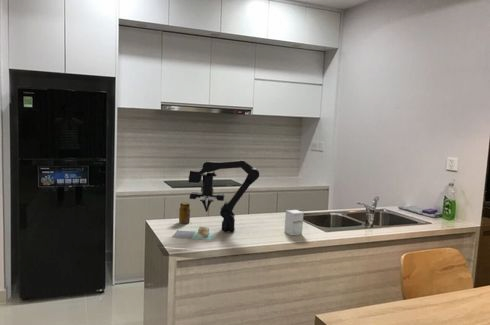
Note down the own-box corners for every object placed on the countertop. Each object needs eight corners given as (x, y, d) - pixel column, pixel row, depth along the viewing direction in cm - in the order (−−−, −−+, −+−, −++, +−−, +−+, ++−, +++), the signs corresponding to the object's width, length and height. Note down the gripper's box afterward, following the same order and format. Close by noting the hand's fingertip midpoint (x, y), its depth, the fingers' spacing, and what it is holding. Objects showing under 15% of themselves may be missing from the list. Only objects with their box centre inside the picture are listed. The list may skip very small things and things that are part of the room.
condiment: (186, 221, 230) (187, 201, 229) (194, 225, 224) (194, 204, 222) (175, 223, 226) (176, 202, 224) (183, 226, 219) (183, 205, 218)
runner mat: (214, 233, 209) (214, 232, 209) (210, 241, 197) (210, 239, 197) (177, 231, 210) (177, 230, 210) (171, 238, 198) (171, 237, 198)
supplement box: (291, 236, 213) (292, 213, 211) (283, 232, 219) (285, 210, 218) (302, 234, 216) (304, 212, 215) (294, 230, 223) (296, 209, 221)
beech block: (208, 234, 205) (209, 227, 205) (207, 237, 200) (207, 230, 200) (199, 234, 205) (199, 226, 205) (197, 237, 201) (198, 229, 200)
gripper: (225, 182, 221) (224, 209, 223) (193, 180, 222) (192, 207, 224) (224, 185, 210) (223, 214, 212) (189, 183, 211) (188, 212, 213)
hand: (206, 211), depth 216 cm, fingers closed
